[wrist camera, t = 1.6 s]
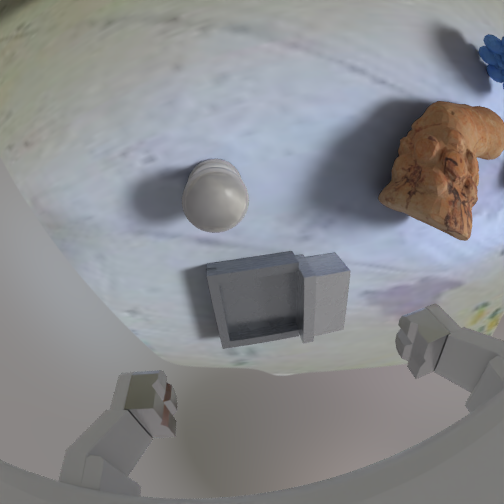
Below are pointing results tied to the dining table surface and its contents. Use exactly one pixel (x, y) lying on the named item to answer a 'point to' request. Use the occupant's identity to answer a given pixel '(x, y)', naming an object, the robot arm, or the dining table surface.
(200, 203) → the white domed knob
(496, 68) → the grapes
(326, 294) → the grey open square box
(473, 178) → the clay pipe
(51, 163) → the dining table surface
